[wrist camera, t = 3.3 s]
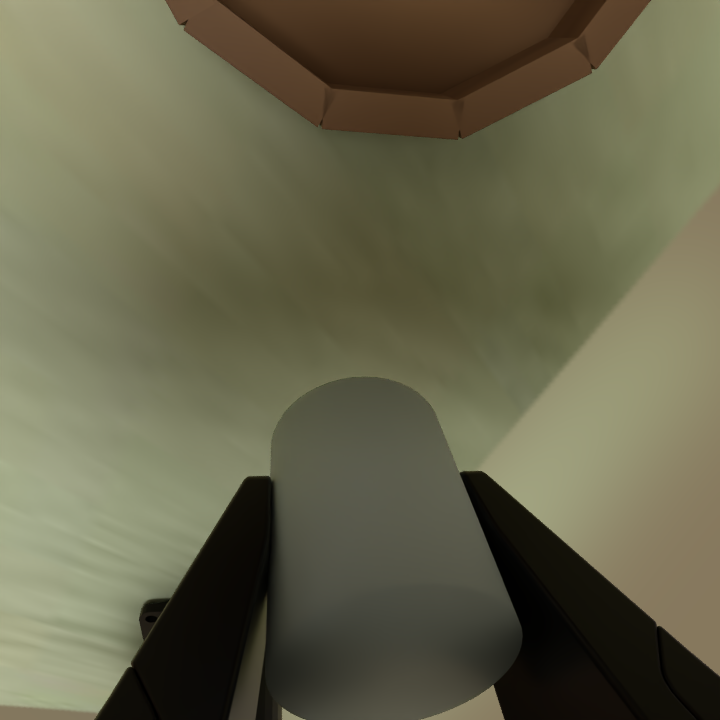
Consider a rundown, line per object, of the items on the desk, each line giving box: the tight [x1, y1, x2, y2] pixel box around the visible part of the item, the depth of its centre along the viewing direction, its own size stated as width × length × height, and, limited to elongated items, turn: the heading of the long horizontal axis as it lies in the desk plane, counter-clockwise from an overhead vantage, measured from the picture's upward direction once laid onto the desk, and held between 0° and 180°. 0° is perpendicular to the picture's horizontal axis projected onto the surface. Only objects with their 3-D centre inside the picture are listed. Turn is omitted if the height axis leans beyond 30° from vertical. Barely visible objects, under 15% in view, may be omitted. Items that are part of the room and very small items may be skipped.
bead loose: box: [265, 377, 523, 720], centre depth 8 cm, size 3×3×4 cm
